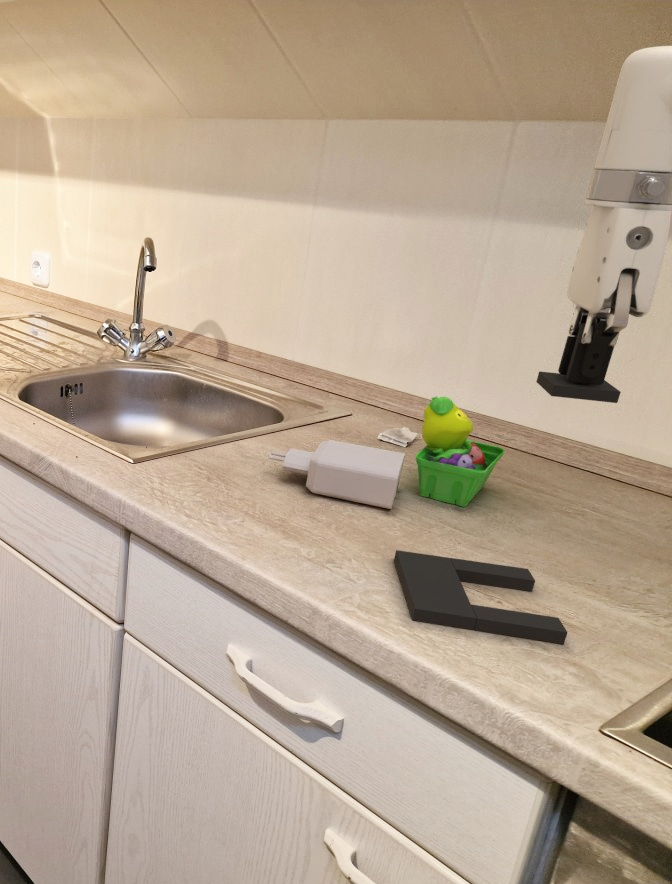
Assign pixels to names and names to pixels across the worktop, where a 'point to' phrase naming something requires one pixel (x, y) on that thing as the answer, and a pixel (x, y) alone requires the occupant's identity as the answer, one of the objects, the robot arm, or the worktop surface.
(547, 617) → the black flat u-shaped plate
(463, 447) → the fruit basket
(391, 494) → the charger
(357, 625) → the worktop surface
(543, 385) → the black peg on base
